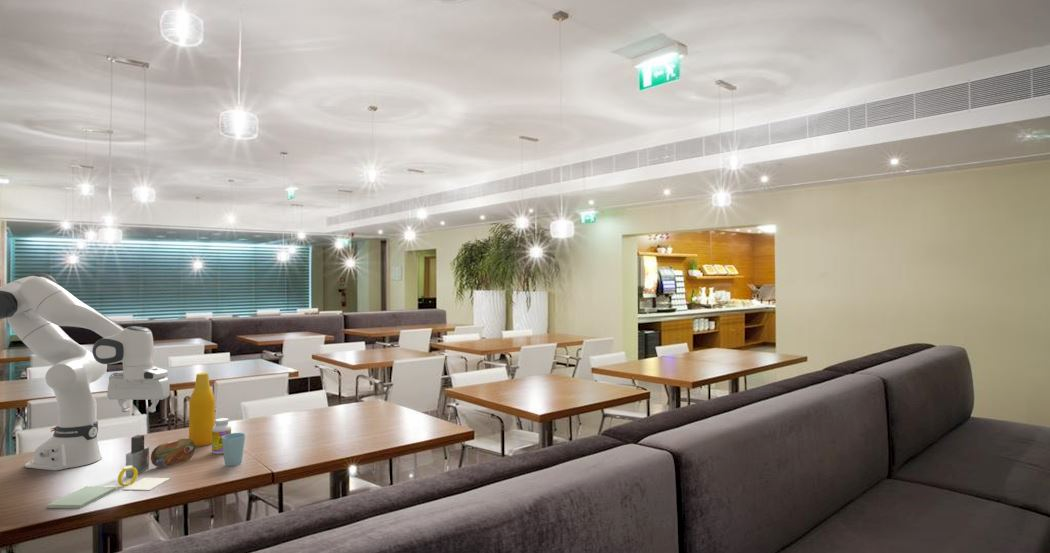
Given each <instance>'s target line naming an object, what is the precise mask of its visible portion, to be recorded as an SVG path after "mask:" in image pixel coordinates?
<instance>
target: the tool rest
mask: <svg viewBox="0 0 1050 553" xmlns="http://www.w3.org/2000/svg"><path fill="white" fill-rule="evenodd" d="M116 491H117V487H116V486H88V485H87V486H84V487H82V488H80V489H78V490H75V491H74V492H71V493H69V494H67V495H64V496H62V497H60V498H59V499H56V500H54V501H52V502H50V503H47V508H48V509H82V508H84V507H86V506H88V505H90V504H92V503H94V502H96V501H98V500H100V499H102V498H104V497H105V496H107V495H110V494H111V493H113V492H116Z"/></svg>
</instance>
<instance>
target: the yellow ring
mask: <svg viewBox="0 0 1050 553" xmlns="http://www.w3.org/2000/svg"><path fill="white" fill-rule="evenodd" d="M130 469H132V470H133V471H134V475H133V477H131V478H132V479H130V481H129V482H125V483H123V476H124V474H125V473H126V470H130ZM138 476H139V474H138V472H137V469H136V468H134V467H133V466H132V465H129V466H126V465H125V466H123V467H122V470H121V471H120V472H119V474H118V476H117V482H118V484H119V485H120V486H122V487H127V486H129V485H131V484H133V483H135V482H136V481H137V478H138Z"/></svg>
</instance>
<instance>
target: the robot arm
mask: <svg viewBox="0 0 1050 553" xmlns="http://www.w3.org/2000/svg"><path fill="white" fill-rule="evenodd" d="M2 319H7V323H8V325H9V326H10V328H11V329H12V331H13V333H15V335H16V336H17V337H18V338H19V339H20V341H21V342H22V343H23V344H24V345H25V346H26V347H27V348H28V349H29V350H30V351H31V353H33V354H34V355H35V357H37V358H38V359H40V360H43V361H46V362H49V363H50V364H51V365H52V366H51V367H49V369H48V370H47V371H46V373H45V377H44V378H45V382H46V384H47V386H48V387H49V388H51V389H52V391H53V392H54V396H55V399H56V403H57V413H58V414H57V417H58V418H57V424H58V425H56V426H55V427H53V428H52V427H51V428H50V432H51V433H52V432H54V433H53V435H52V436H51V437H50V438H48V439H47V440H46V441H45V442H43V443H42V444H40V445H39V446H37V447H36V448H35V450H34V455H33V459H32V460H30V461H27V462H26V463H25V465H24V468H29V469H37V470H46V471H47V470H48V471H61V470H66V469H69V468H77V467H82V466H86V465H90V464H93V463H96V462H98V461H100V460H101V459H102V454H101V452H100V451H101V450H100V446H99V442H98V432H99V422H98V420H97V411H98V410H97V409H98V408H97V407H98V406H97V404H98V403H97V400H96V398H95V397H93V394H92V391H91V387H90V384H92V383H94V382H96V381H98V380H99V379H101V377H103V376H104V375H105V373H106V372H107V370H108V365H113V364H118V363H122V372H113V373H111V374H110V375H109V377H108V386H107V390H106V391H107V392H106V396H107V398H108V399H109V400H117V403H118V405H119V406H120V408H121V412H122V413H127V412H129V411H130V406H129V405H127V403H126V402H127V400H129V401H131V400H133V401H134V400H137V401H138V400H139V401H141V400H142V401H143V400H145V401H146V400H150V403H151V405H150V406H148V407H147V409H148V410H147V412H148V413H154V412H156V411H157V410H156V407H157V405H158V404H159V401H160V400H161V401H162V400H165V399H166V400H167V398H169V396H170V395H171V391H170V390H171V388H170V387H171V386H170V381H169V378H168V376H169V371H168V370H167V369H164V368H161V367H158V366H156V365H154V364H155V363H154V362H155V361H154V360H153V355H154V351H155V350H154V347H155V346H154V336H153V332H152V330H151V329H149V328H148V327H144V326H135V325H134V326H127V327H126V328H125V327H123V326H121V325H120V324H118V323H117V322H115V321H114V320H112V319H111V318H109V317H108V316H106V315H105V314H103V313H101V312H99V311H98V310H97V309H95V308H93V307H91V306H90V305H88V304H86V303H85V302H83V301H81V300H80V299H79V298H77V297H76V296H74V294H72V293H71V292H70V291H68V290H66V288H64V287H62V286H61V285H59V283H58V282H57V280H56V279H55V278H54V277H53V276H52V275H50V274H47V273H44V272H43V273H42V272H41V273H34V274H31V275H30V276H26V277H22V278H19V279H15V280H12V281H11V282H8V283H6V284H4V285H1V286H0V320H2ZM60 326H61V327H74V328H83V329H87V330H91V331H92V332H94V333H95V334H97V335H99V336H101V338H100V339H98V340H97V341H95V343H94V344H93V346H92V350H91V351H92V352H91V351H90V350H89V349H87V348H85V347H84V346H82V345H81V344H79V343H78V342H76V341H75V340H74V339H73V338H72V337H70V336H69V334H67V333H66V332H65V331H64V330H63V329H62V328H61V327H60Z"/></svg>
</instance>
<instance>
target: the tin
mask: <svg viewBox="0 0 1050 553" xmlns="http://www.w3.org/2000/svg"><path fill="white" fill-rule="evenodd" d="M195 451H196V447H195V444H194V442H193V441H192V440H190V439H189V438H180V439H177V440H172V441H169V442H165V443H161V444H159V445H157V446H156V447H154V449H153V450H152V452H151V454H150V462H151V464H152V465H153V466H154V467H157V468H159V469H163V468H168V467H171V466H174V465H178V464H181V463H184V462H187V461H189V460H190V459H191V458H192V457H193V455H194V454H195Z"/></svg>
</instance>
